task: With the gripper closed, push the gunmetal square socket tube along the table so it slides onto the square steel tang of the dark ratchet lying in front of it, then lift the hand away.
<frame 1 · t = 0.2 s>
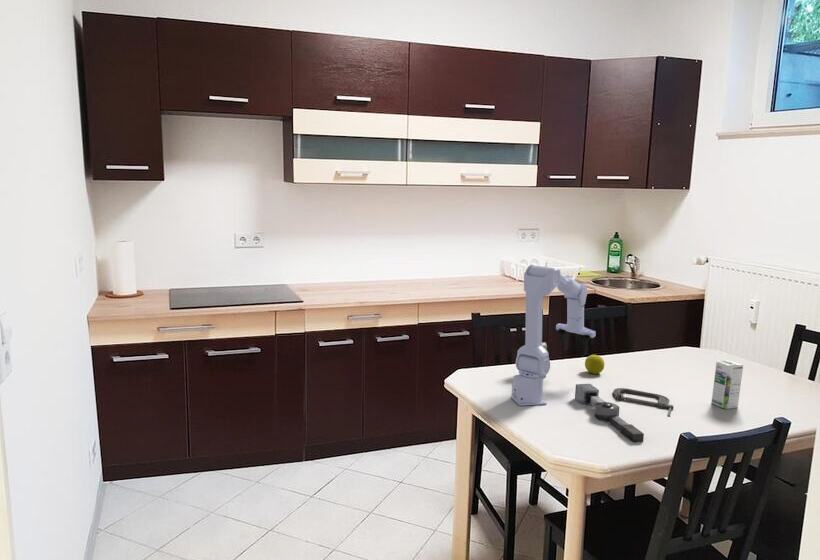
hand: (575, 351, 212), 10 cm above the table, tool pointing down, fingers open, 7 cm apart
c clamp: (642, 403, 194), on the table
syrup box: (724, 406, 191), on the table
skincare box: (536, 376, 217), on the table
socket: (586, 401, 192), on the table
ratchet: (606, 417, 179), on the table
tennis ball: (593, 373, 221), on the table
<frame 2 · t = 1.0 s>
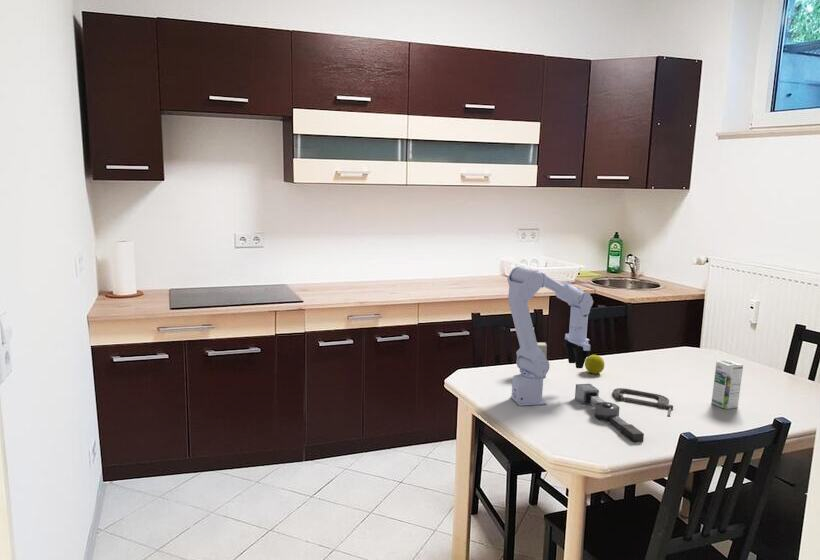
hand: (575, 365, 199), 9 cm above the table, tool pointing down, fingers open, 5 cm apart
nothing on the table moved.
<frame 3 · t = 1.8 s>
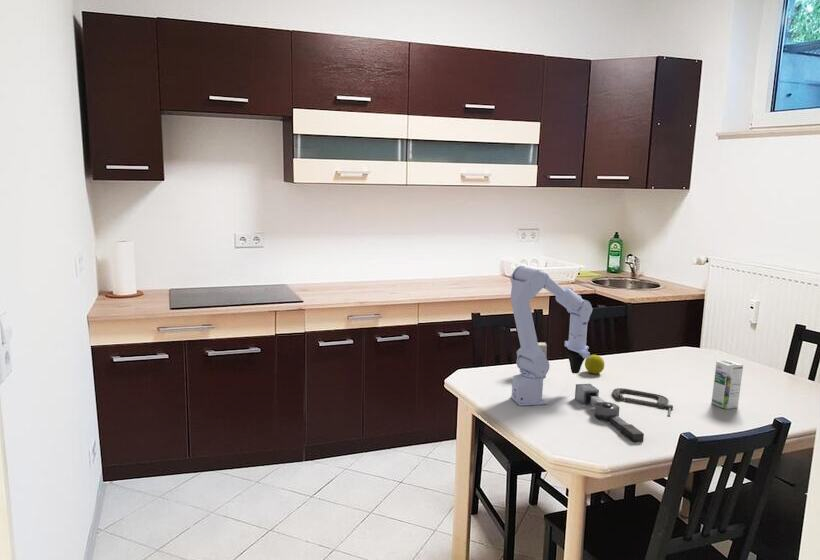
hand: (575, 372, 200), 7 cm above the table, tool pointing down, fingers closed
nothing on the table moved.
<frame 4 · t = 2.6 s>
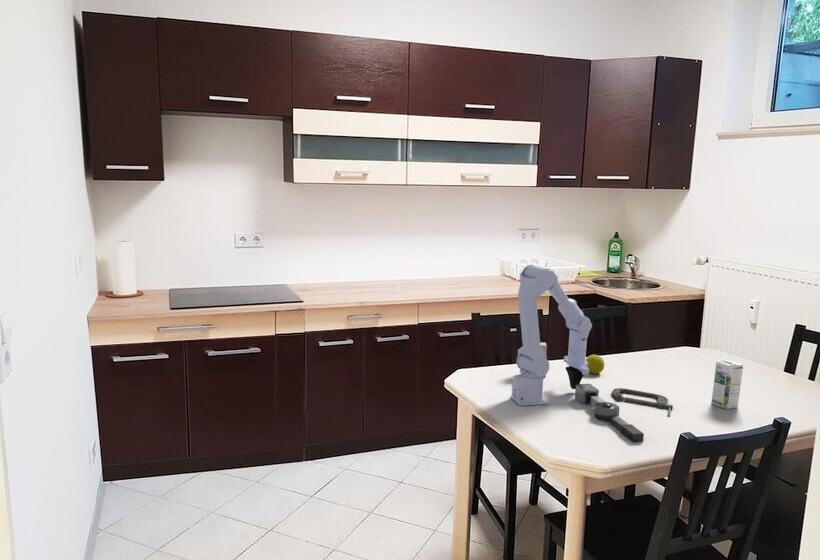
hand: (574, 388, 200), 1 cm above the table, tool pointing down, fingers closed
nothing on the table moved.
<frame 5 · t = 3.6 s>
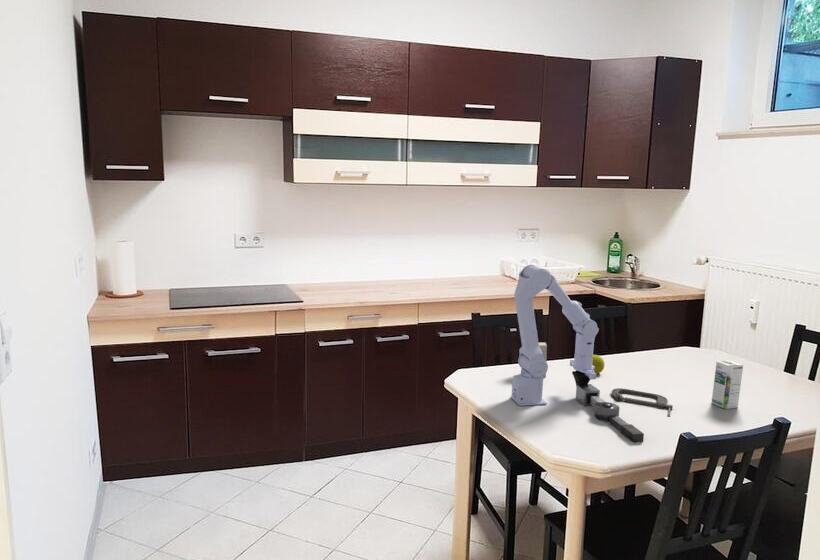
hand: (581, 393, 196), 1 cm above the table, tool pointing down, fingers closed
socket: (587, 402, 191), on the table, touching gripper
everything else where it was.
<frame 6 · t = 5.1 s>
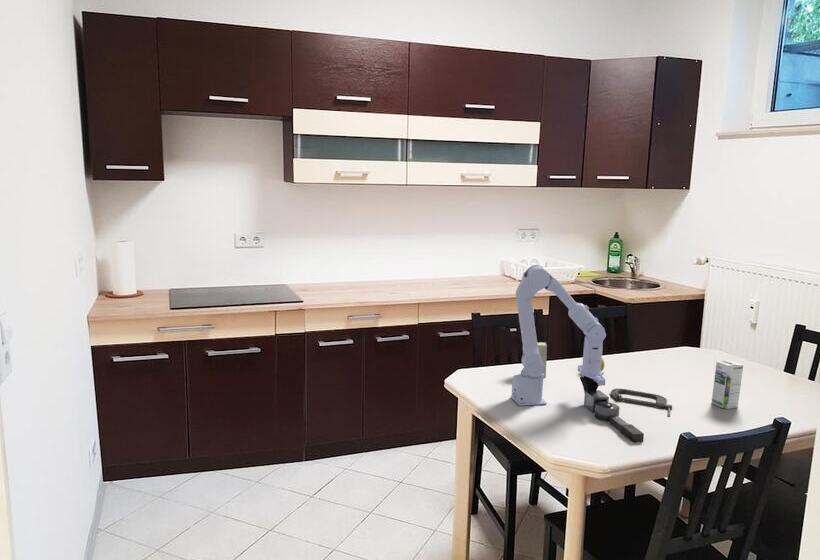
hand: (589, 399, 190), 1 cm above the table, tool pointing down, fingers closed
socket: (595, 409, 186), on the table, touching gripper
everything else where it was.
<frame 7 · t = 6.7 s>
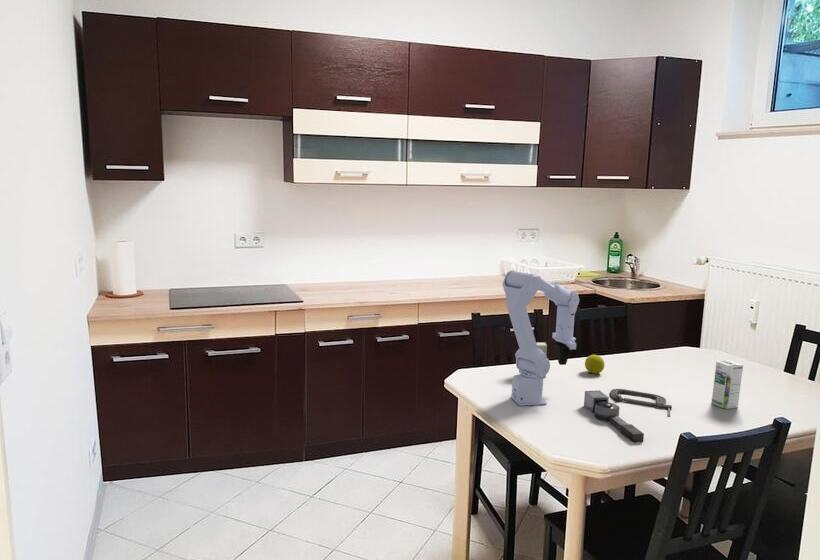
hand: (562, 364, 200), 9 cm above the table, tool pointing down, fingers closed
socket: (595, 409, 186), on the table
everything else where it was.
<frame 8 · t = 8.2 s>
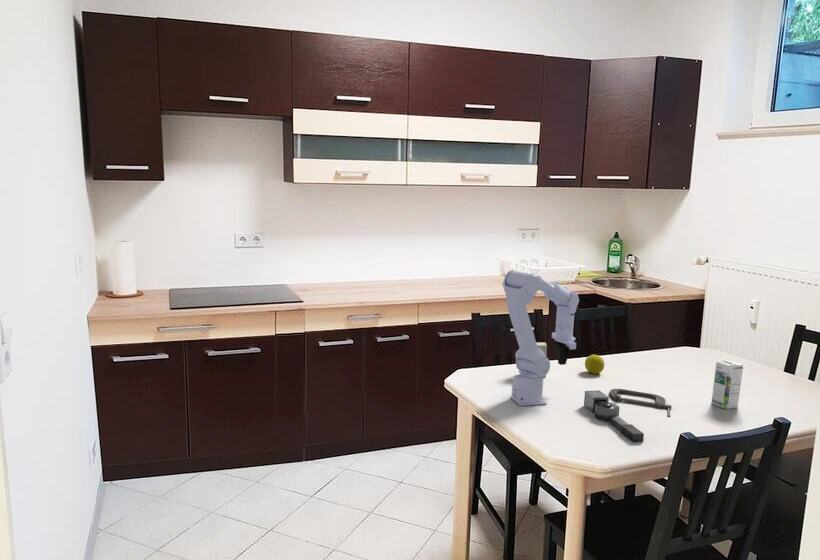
hand: (561, 364, 200), 9 cm above the table, tool pointing down, fingers closed
at the end: socket 0.3 cm from the target spot, on the table; socket touching table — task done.
